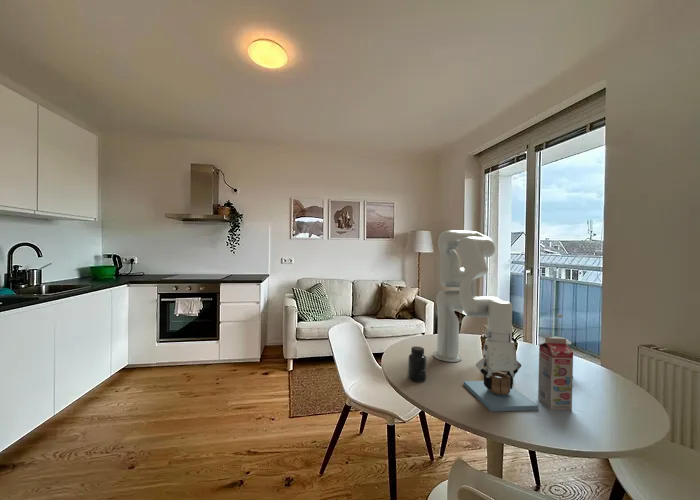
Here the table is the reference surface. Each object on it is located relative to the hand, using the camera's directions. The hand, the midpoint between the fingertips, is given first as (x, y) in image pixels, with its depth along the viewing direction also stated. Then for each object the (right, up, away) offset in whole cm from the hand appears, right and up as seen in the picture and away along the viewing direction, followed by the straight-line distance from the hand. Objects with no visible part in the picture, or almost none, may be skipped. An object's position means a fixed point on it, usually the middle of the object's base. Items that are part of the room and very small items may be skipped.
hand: (498, 386), depth 102 cm
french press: (+35, -4, +21) cm, 41 cm away
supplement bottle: (-25, -3, +13) cm, 29 cm away
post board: (0, -3, 0) cm, 3 cm away
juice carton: (+16, -4, -5) cm, 17 cm away
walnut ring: (0, -1, 0) cm, 1 cm away
